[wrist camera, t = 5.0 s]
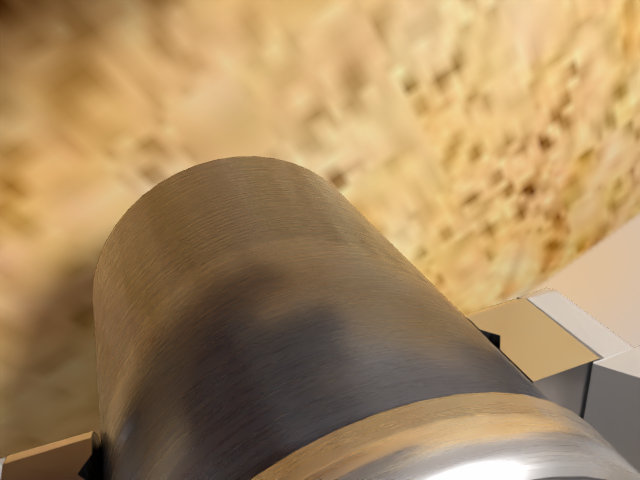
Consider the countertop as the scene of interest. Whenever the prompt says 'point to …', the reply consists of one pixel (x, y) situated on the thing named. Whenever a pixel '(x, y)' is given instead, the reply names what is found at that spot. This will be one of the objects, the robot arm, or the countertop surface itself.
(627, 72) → the countertop surface
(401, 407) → the lens
